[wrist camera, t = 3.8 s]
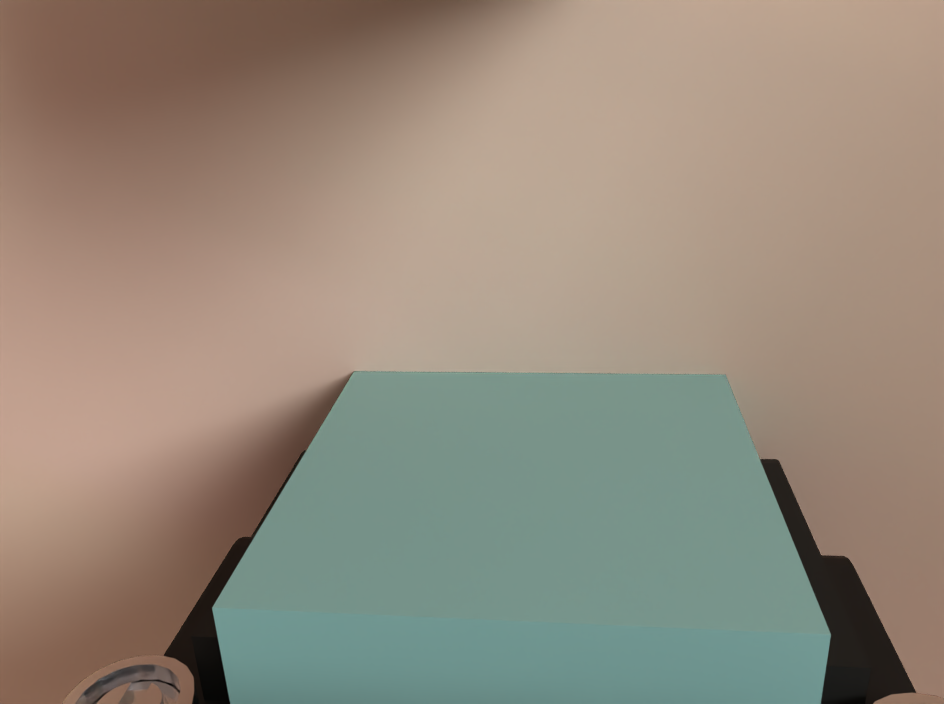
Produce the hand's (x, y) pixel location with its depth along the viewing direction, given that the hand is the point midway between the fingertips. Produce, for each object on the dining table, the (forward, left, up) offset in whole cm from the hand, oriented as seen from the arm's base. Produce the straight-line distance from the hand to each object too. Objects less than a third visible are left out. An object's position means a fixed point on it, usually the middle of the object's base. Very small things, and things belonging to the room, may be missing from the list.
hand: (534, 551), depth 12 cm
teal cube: (0, 0, -1) cm, 1 cm away
